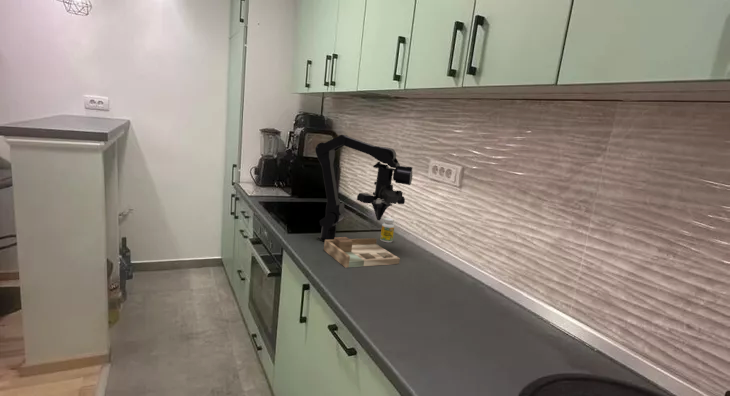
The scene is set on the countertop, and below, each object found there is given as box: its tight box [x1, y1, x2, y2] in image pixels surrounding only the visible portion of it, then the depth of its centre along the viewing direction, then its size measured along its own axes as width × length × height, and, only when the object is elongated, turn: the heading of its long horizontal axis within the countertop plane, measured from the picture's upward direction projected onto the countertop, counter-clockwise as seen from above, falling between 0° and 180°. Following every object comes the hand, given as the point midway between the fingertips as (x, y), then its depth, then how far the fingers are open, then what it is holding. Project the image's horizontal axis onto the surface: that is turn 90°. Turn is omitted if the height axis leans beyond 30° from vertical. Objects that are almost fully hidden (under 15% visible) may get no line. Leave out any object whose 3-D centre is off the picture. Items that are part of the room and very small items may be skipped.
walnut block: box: [334, 236, 353, 252], centre depth 147 cm, size 5×5×4 cm
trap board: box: [323, 237, 401, 269], centre depth 148 cm, size 18×22×4 cm
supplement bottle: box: [379, 217, 395, 243], centre depth 173 cm, size 5×5×10 cm
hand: (378, 220), depth 157 cm, fingers closed
